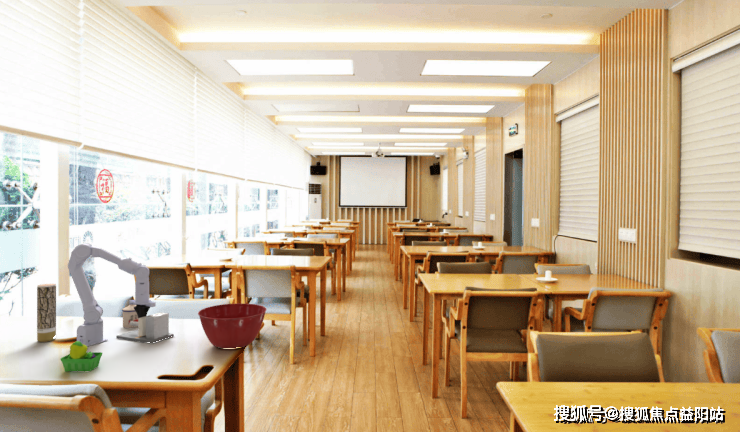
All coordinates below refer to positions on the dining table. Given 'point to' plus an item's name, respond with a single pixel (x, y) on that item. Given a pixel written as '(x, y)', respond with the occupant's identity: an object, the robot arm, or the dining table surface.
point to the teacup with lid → (129, 316)
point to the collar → (142, 326)
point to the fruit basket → (80, 358)
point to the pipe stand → (156, 325)
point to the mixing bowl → (232, 324)
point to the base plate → (139, 337)
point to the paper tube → (46, 312)
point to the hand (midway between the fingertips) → (142, 321)
